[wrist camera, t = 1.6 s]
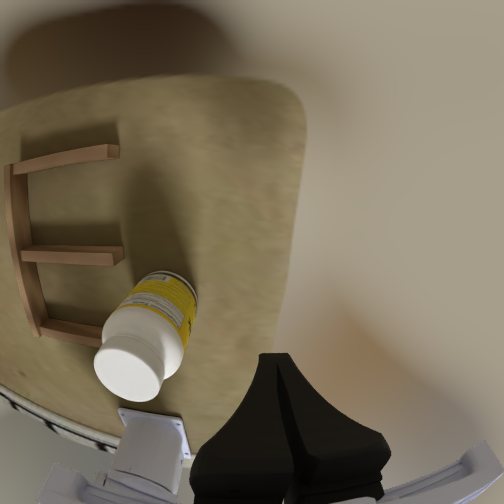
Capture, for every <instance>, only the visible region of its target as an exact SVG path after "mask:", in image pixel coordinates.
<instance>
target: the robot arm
mask: <svg viewBox="0 0 504 504" xmlns="http://www.w3.org/2000/svg"><path fill="white" fill-rule="evenodd" d="M118 412H119V414H120V417H121V419H122V421H123V423H124V425H125V427H126V428H125V430H124V433H123V435H122V438H121V440H120V443H119V445H118V448H117V450H116V453H115V455H114V458H113V461H112V464H111V466H110V469H109V471H108V472H107V474H105V473H104V472H99V473H95V474H94V476H93V478H92V481H91V482H90V481H87V479H86V478H85V477H84V476H83V475H82V474H81V473H80V472H78V471H76V470H74V469H72V468H69V467H67V466H65V465H63V464H61V463H58V462H54V464H53V466H52V468H51V470H50V472H49V474H48V476H47V478H46V480H45V482H44V484H43V486H42V489H41V491H40V493H39V495H38V497H37V502H38V503H39V504H180V503H178V502H177V495H176V493H177V491H178V487H179V482H180V477H181V471H182V466H183V461H184V458H187V459H190V458H191V457H192V455H191V451H190V448H189V444H188V440H187V437H186V433H185V429H184V425H183V421H182V419H181V418H179V417H172V416H165V415H158V414H152V413H146V412H140V411H135V410H130V409H125V408H119V409H118ZM390 457H391V450H390V448H389V446H388V444H387V442H386V440H385V439H384V437H383V435H382V434H381V433H379V432H377V431H374V430H372V429H370V428H367V427H365V426H363V425H361V424H359V423H357V422H355V421H354V420H352V419H350V418H349V417H347V416H346V415H344V414H343V413H341V412H340V411H338V410H337V409H336V408H335V407H333V406H332V405H331V404H330V403H328V402H327V401H326V400H325V399H324V398H323V397H322V396H321V395H320V394H319V393H318V392H317V391H316V390H315V389H314V388H313V387H312V386H311V384H310V383H309V382H308V381H307V379H306V378H305V377H304V376H303V375H302V373H301V372H300V370H299V369H298V367H297V366H296V365H295V363H294V362H293V360H292V358H291V357H290V355H289V354H288V353H261V354H260V355H259V362H258V367H257V370H256V373H255V376H254V378H253V381H252V383H251V385H250V387H249V390H248V392H247V394H246V395H245V397H244V399H243V401H242V402H241V404H240V405H239V407H238V408H237V410H236V411H235V413H234V414H233V415H232V417H231V418H230V419H229V420H228V421H227V423H226V424H225V425H224V426H223V427H222V428H221V429H220V430H219V431H218V432H217V433H216V434H215V435H214V436H213V437H212V438H211V439H209V440H208V441H207V442H206V443H205V444H204V445H202V446H201V448H200V450H199V451H198V453H197V455H196V457H195V459H194V462H193V464H192V467H191V471H190V478H189V482H190V485H191V488H192V490H193V492H194V494H195V497H194V504H282V502H283V499H284V504H466V503H468V502H470V501H471V500H473V499H474V498H476V497H477V496H478V495H479V494H481V493H482V492H483V491H484V490H485V489H487V488H488V487H489V486H490V485H491V484H492V483H494V481H496V480H497V479H498V478H499V477H500V476H501V475H502V474H503V473H504V468H503V466H502V465H501V463H500V461H499V460H498V458H497V457H496V455H495V453H494V452H493V450H492V449H491V447H490V446H489V444H488V443H487V441H486V440H484V441H482V442H480V443H478V444H477V445H475V446H474V447H472V448H470V449H469V450H467V451H466V452H465V453H464V454H463V455H462V457H461V458H460V459H459V460H458V461H456V462H454V463H452V464H450V465H447V466H445V467H443V468H442V469H439V470H437V471H435V472H432V473H430V474H428V475H425V476H423V477H420V478H418V479H415V480H413V481H410V482H407V483H405V484H402V485H399V486H396V487H393V488H390V489H387V490H383V487H382V485H381V482H380V481H381V480H382V475H381V472H380V471H381V470H382V469H383V467H384V466H385V465H386V463H387V462H388V460H389V459H390Z"/></svg>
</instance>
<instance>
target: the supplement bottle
mask: <svg viewBox="0 0 504 504" xmlns="http://www.w3.org/2000/svg"><path fill="white" fill-rule="evenodd" d="M197 309H198V301H197V296H196V294H195V291H194V290H193V288H192V286H191V285H190V284H189V283H188V282H187V281H186V280H185V279H184V278H182V277H181V276H179V275H177V274H175V273H173V272H169V271H156V272H152V273H150V274H148V275H146V276H145V277H144V278H143V279H142V280H141V281H140V282H139V283H138V284H137V285H136V286H135V287H134V289H133V290H132V291H131V292H130V293H129V294H128V295H127V297H126V298H125V299H124V300H123V301H122V302H121V304H120V305H119V306H118V307H117V308H116V309H115V310H114V312H113V313H112V314H111V315H110V317H109V318H108V319H107V321H106V322H105V324H104V327H103V331H102V343H103V345H102V346H101V348H100V349H99V350H98V352H97V354H96V355H95V358H94V369H95V372H96V374H97V376H98V378H99V379H100V381H101V382H102V383H103V384H104V386H105V387H107V388H108V389H109V390H110V391H111V392H113V393H114V394H116V395H118V396H120V397H122V398H124V399H127V400H130V401H136V402H143V401H148V400H151V399H153V398H154V397H155V396H156V395H157V394H158V392H159V390H160V388H161V385H162V383H163V380H164V379H166V378H168V377H170V376H171V375H173V374H174V373H175V372H176V371H177V369H178V368H179V366H180V364H181V361H182V358H183V356H184V352H185V349H186V345H187V342H188V339H189V336H190V333H191V329H192V326H193V323H194V320H195V317H196V314H197Z"/></svg>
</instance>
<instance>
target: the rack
mask: <svg viewBox="0 0 504 504" xmlns="http://www.w3.org/2000/svg"><path fill="white" fill-rule="evenodd" d="M119 150H120V146H119V145H112V144H103V145H97V146H91V147H85V148H79V149H74V150H69V151H64V152H59V153H54V154H50V155H45V156H41V157H37V158H33V159H29V160H26V161H22V162H18V163H15V164H9V165H5V166H4V190H5V207H6V218H7V227H8V235H9V242H10V248H11V254H12V259H13V264H14V269H15V274H16V278H17V282H18V287H19V291H20V294H21V298H22V302H23V305H24V309H25V312H26V315H27V318H28V321H29V324H30V327H31V330H32V333H33V336H36V337H40V336H42V335H44V336H47V337H51V338H55V339H60V340H64V341H68V342H73V343H77V344H82V345H87V346H92V347H98V348H101V346H102V345H103V343H102V331H103V327H97V326H91V325H85V324H79V323H73V322H67V321H62V320H57V319H52V318H49V316H48V312H47V309H46V305H45V302H44V298H43V294H42V290H41V285H40V281H39V276H38V272H37V267H36V262H45V263H62V264H80V265H100V266H115V265H116V264H117V263H119V262H120V261H121V260H123V259H124V250H123V246H76V245H33V243H32V236H31V228H30V219H29V208H28V192H27V173H30V172H35V171H40V170H45V169H50V168H55V167H61V166H66V165H72V164H79V163H85V162H92V161H100V160H108V159H117V158H119Z"/></svg>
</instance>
